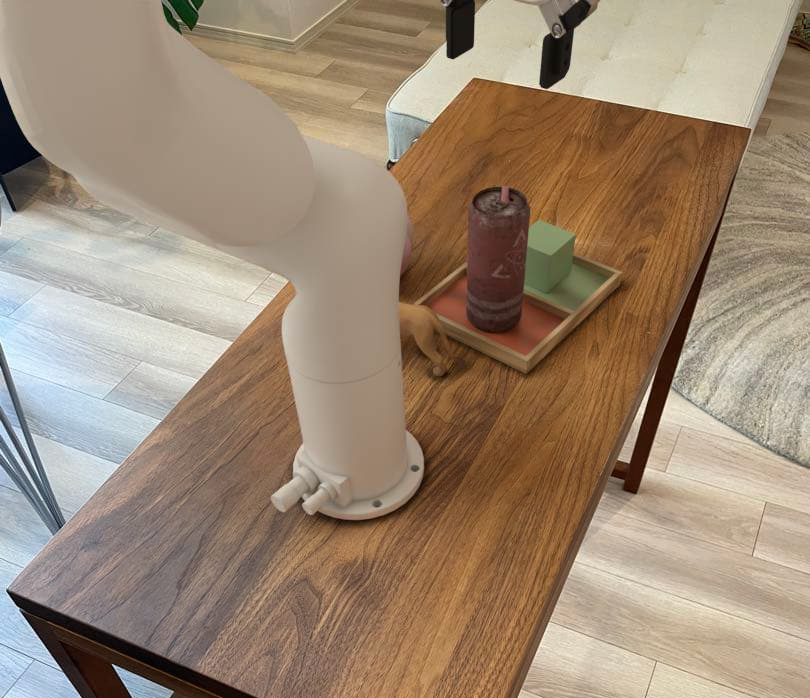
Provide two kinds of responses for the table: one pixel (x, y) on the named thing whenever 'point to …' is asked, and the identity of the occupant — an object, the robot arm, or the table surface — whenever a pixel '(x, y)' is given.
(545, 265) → the green block
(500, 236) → the can
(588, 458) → the table surface
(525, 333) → the sorting tray
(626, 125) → the table surface
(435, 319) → the lion figurine
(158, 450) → the table surface
